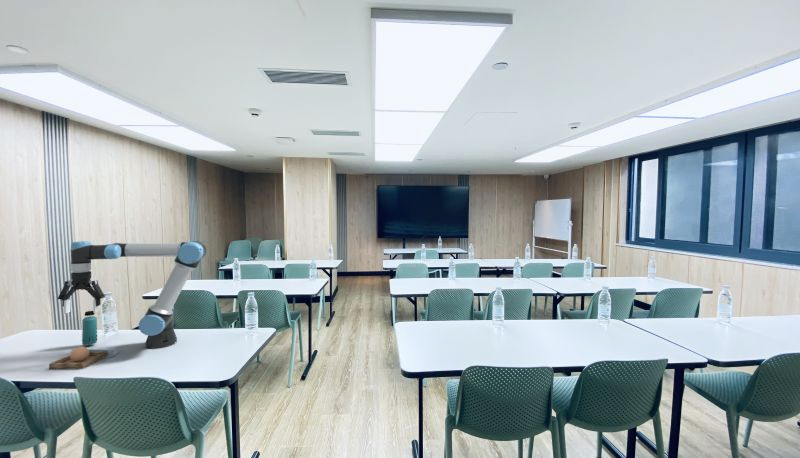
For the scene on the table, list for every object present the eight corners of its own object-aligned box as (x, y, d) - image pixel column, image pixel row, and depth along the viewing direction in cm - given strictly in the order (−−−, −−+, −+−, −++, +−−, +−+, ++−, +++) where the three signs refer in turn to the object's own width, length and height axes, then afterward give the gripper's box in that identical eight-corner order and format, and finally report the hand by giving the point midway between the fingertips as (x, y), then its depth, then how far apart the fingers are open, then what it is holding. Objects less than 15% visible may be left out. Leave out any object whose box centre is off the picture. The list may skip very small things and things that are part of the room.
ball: (92, 358, 172) (93, 344, 172) (81, 363, 165) (81, 350, 165) (78, 358, 171) (78, 344, 171) (65, 364, 164) (66, 349, 164)
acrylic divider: (118, 353, 180) (118, 347, 180) (111, 357, 175) (111, 350, 175) (76, 354, 178) (76, 347, 178) (68, 358, 173) (68, 351, 173)
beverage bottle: (87, 348, 187) (87, 313, 186) (78, 347, 188) (78, 312, 188) (100, 344, 193) (100, 310, 193) (91, 343, 194) (91, 309, 194)
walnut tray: (107, 356, 176) (107, 351, 176) (82, 368, 161) (82, 363, 161) (76, 356, 175) (76, 352, 175) (49, 369, 160) (49, 364, 160)
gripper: (113, 270, 176) (113, 309, 176) (60, 270, 173) (61, 311, 173) (102, 272, 168) (102, 313, 169) (47, 272, 165) (47, 315, 166)
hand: (81, 312), depth 171 cm, fingers open, 13 cm apart
